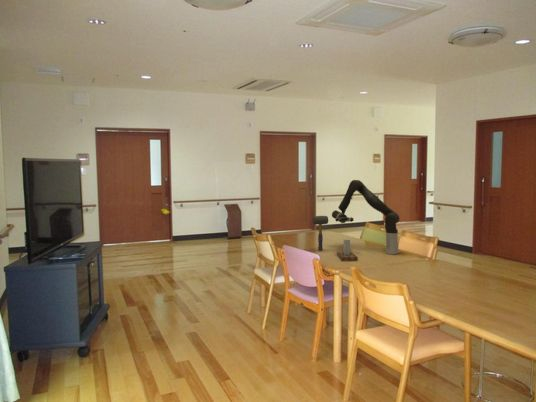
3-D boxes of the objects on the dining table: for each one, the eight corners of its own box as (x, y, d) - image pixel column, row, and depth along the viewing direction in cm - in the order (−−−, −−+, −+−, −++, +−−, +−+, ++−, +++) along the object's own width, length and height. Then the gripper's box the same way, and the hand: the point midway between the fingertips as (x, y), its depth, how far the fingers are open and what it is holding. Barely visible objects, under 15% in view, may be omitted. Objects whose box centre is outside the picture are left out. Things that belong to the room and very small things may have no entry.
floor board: (351, 255, 340) (351, 251, 339) (357, 260, 320) (357, 257, 320) (336, 255, 339) (336, 251, 339) (341, 261, 319) (342, 257, 319)
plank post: (348, 257, 332) (348, 238, 331) (350, 258, 327) (350, 239, 326) (343, 257, 332) (343, 238, 331) (344, 258, 327) (345, 239, 326)
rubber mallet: (325, 249, 363) (326, 214, 360) (328, 251, 355) (328, 216, 352) (312, 250, 360) (312, 215, 357) (314, 251, 353) (314, 216, 350)
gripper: (333, 213, 354) (337, 216, 337) (350, 213, 354) (355, 215, 338) (333, 222, 354) (337, 225, 338) (350, 222, 355) (355, 225, 339)
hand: (346, 220), depth 338 cm, fingers open, 8 cm apart
